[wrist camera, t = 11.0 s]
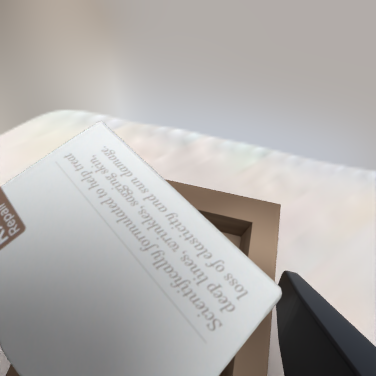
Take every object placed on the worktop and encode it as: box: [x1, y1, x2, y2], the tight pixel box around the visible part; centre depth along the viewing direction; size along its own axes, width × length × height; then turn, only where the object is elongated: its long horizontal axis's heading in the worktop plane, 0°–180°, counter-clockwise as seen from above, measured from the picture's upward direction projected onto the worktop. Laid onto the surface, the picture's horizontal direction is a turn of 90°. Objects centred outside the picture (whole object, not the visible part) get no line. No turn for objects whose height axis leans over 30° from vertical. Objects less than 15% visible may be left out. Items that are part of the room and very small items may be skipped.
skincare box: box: [0, 121, 282, 376], centre depth 10 cm, size 6×4×12 cm
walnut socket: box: [6, 180, 281, 376], centre depth 14 cm, size 12×12×4 cm
